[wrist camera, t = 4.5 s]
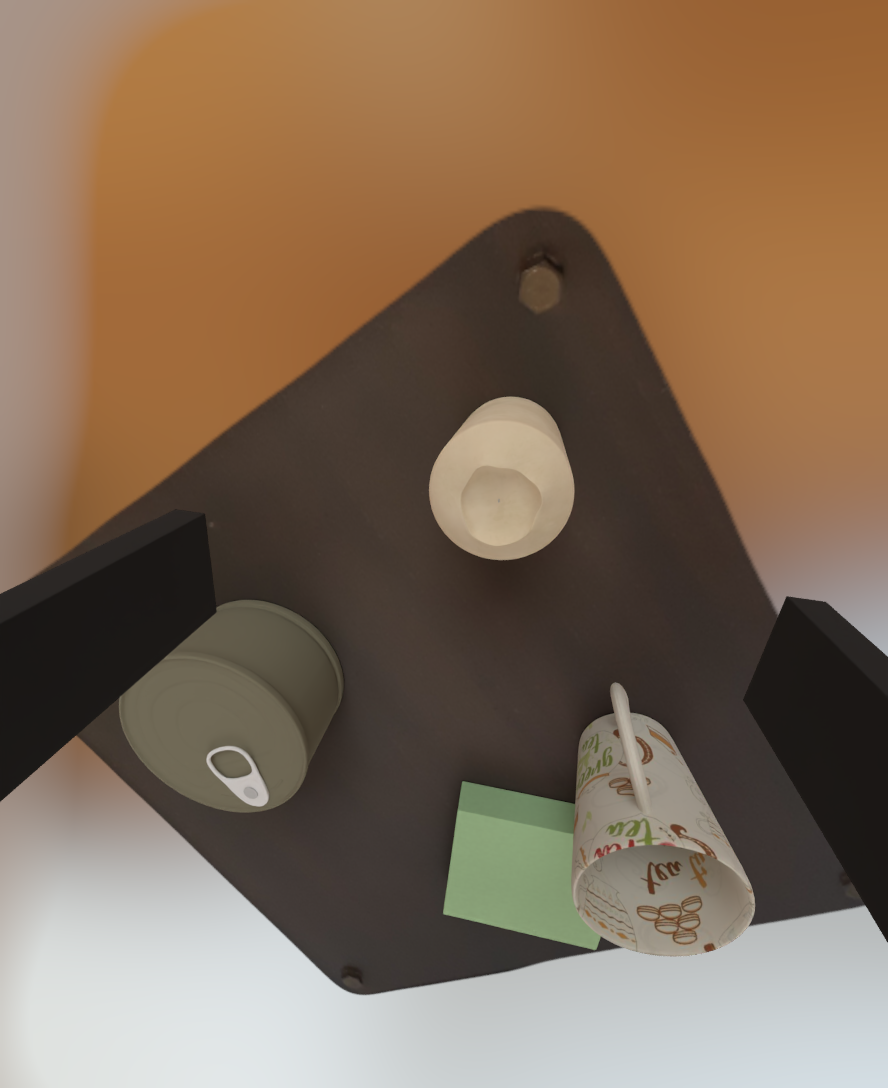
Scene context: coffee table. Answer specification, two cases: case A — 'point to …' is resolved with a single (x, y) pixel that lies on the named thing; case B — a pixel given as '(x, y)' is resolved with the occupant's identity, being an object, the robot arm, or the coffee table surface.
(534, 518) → the candle
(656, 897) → the mug
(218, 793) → the can
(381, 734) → the coffee table surface
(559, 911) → the foam pad
